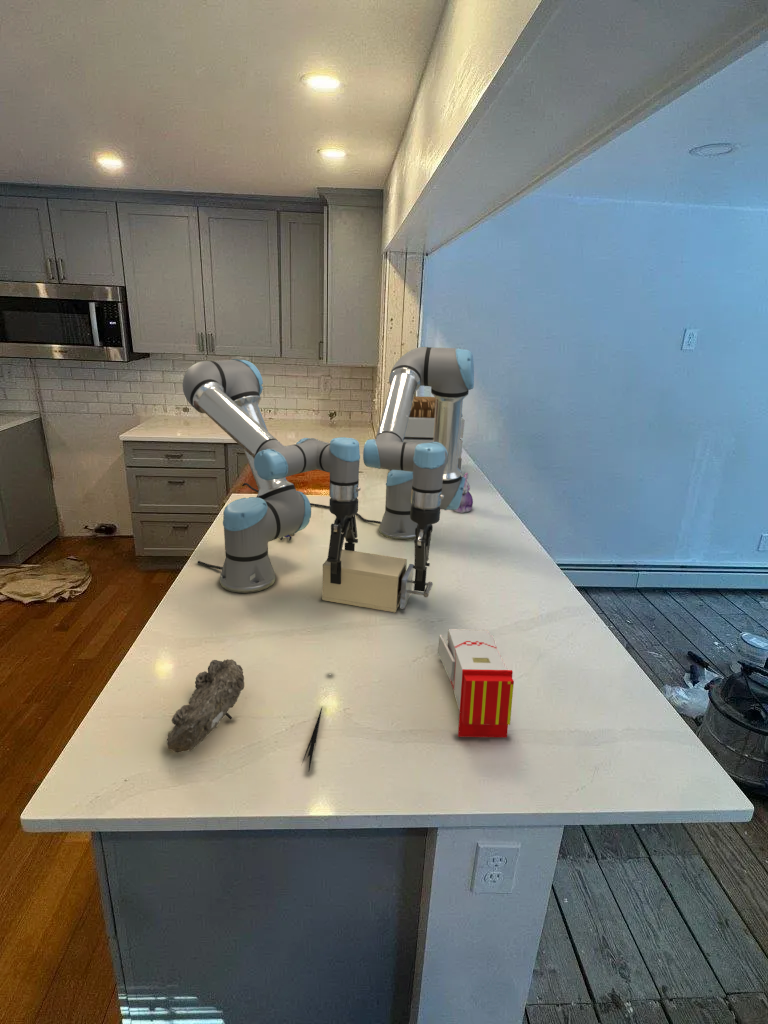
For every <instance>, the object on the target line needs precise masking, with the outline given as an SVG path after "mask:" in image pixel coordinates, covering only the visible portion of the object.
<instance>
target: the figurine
mask: <svg viewBox="0 0 768 1024" xmlns="http://www.w3.org/2000/svg"><path fill="white" fill-rule="evenodd" d="M461 477H464V478H465V484H464V489H463V493H462V498H461V502H460V505H459V508H458V509H456V510H453V512H456V513H462V514H463V513H468V512H470V511H471V510H472V509H473V505H474V499H473V496H472V494H471V492H470V489H471V487H470V484H469V482H468V479H469V473H468V472H465V473H464V474H463V476H462V475H461Z"/></svg>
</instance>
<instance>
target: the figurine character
mask: <svg viewBox="0 0 768 1024" xmlns="http://www.w3.org/2000/svg"><path fill="white" fill-rule="evenodd" d="M295 535H296V533H294V534H290V535H287V536H284V537H281V538H279V540H280V541H283V539H284V538H288V541H289V542H290V541H292V537H294V536H295Z"/></svg>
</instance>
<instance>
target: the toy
mask: <svg viewBox="0 0 768 1024" xmlns="http://www.w3.org/2000/svg"><path fill="white" fill-rule="evenodd" d="M446 640H447V643H446V641H445V639H444V636H443V635H442V634H439V637H438V646H437V656H438V657H439V659H440V661H441V663H442V666H443V668H444V670H445V672H446V674H447V677H448V679H449V681H450V684H451V687H452V690H453V693H454V697H455V701H456V705H457V708H458V711H459V714H458V715H459V716H458V730H457V731H458V732H457V737H458V738H508V731H509V726H510V725H511V717H512V707H513V697H514V696H513V695H514V684H515V680H514V679H513V673H514V671H513V670H512V669H508V667H507V665H506V662H505V661H504V659H503V658H502V655H501V653H500V651H499V649H498V647H497V643H496V639H495V637H494V635H493V634H491V632H490V631H489V629H467V628H466V629H465V628H463V629H461V628H460V629H459V628H448V630H447V639H446Z"/></svg>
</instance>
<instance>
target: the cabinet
mask: <svg viewBox="0 0 768 1024" xmlns="http://www.w3.org/2000/svg"><path fill="white" fill-rule="evenodd" d="M340 561H341V584H333V583H330V568H331V562H328V561H327V559H326V560H325V562H324V563H323V564H322V586H321V587H322V589H321V590H322V592H321V593H322V595H321V597H322V598H321V599H322V601H326V602H332V603H337V604H343V605H350V606H354V607H355V606H356V607H360V608H367V609H372V610H379V611H385V612H390V613H397V610H398V608H399V607H400V599H401V592H400V595H399V597H398V599H397V596H398V580H399V577H400V575H401V573H402V571H403V575H402V578H403V576H404V574H405V572H406V570H407V568H408V566H407V564H408V558H402V557H396V556H389V555H384V554H382V555H381V554H377V553H376V554H375V553H371V552H370V553H369V552H362V551H357V550H355V551H350V550H345V549H343V548H342V553H341V558H340Z"/></svg>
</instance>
